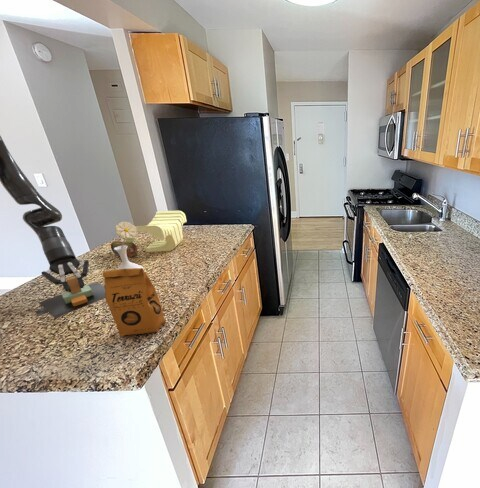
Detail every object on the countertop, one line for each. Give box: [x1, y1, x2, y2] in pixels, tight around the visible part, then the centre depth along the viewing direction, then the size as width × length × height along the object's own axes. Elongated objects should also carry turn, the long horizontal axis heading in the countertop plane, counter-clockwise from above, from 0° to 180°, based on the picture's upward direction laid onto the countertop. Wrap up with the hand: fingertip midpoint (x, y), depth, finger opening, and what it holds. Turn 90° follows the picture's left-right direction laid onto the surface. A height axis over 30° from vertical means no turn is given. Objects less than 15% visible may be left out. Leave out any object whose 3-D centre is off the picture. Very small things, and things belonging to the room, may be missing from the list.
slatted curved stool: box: [134, 209, 187, 253], centre depth 148 cm, size 30×16×18 cm, turn 6°
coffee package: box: [102, 268, 166, 337], centre depth 82 cm, size 10×12×22 cm
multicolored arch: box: [110, 239, 139, 258], centre depth 138 cm, size 15×3×8 cm, turn 76°
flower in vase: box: [112, 221, 144, 270], centre depth 116 cm, size 13×11×25 cm
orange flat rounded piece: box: [71, 295, 88, 306], centre depth 97 cm, size 4×4×2 cm
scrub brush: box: [60, 274, 93, 304], centre depth 99 cm, size 8×5×8 cm, turn 140°
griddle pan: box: [34, 281, 106, 319], centre depth 101 cm, size 23×18×1 cm
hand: (76, 289), depth 97 cm, fingers closed on scrub brush, 3 cm apart
